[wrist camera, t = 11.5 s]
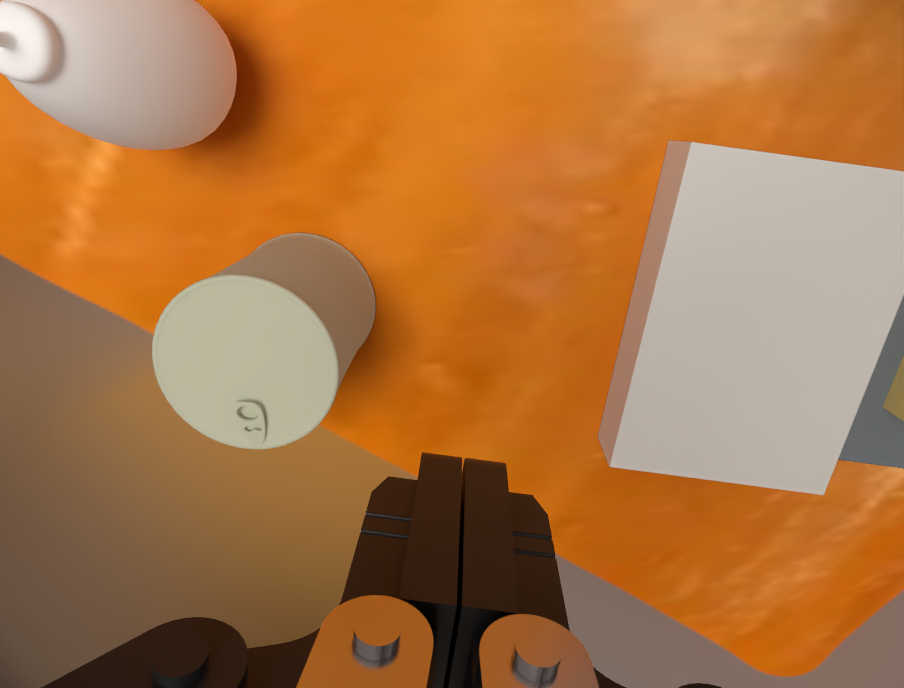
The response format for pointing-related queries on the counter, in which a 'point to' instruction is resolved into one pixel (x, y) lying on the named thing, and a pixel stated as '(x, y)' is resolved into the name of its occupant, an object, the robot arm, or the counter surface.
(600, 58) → the counter surface
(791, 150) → the counter surface
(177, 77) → the white bulb air blower
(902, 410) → the yellow block
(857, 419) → the tray
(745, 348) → the white flat block
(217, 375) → the can
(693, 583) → the counter surface
